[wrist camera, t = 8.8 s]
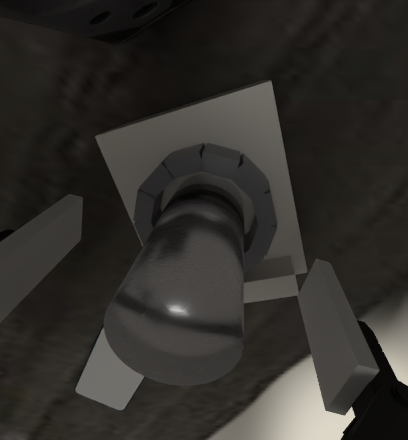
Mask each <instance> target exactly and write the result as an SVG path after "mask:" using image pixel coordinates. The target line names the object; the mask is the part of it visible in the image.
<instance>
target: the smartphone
mask: <svg viewBox="0 0 408 440" xmlns="http://www.w3.org/2000/svg"><path fill="white" fill-rule="evenodd" d="M96 339H97V340H96V341H95V343H94V345H93V347H92V349H91V352H90V355H89V358H88V360H87V362H86V364H85V367H84V369H83V371H82V373H81V375H80V378H79V380H78V382H77V384H76V387H75V392H76V393H77V394H79V395H81V396H84V397H86V398H89V399H91V400H94V401H96V402H98V403H101V404H103V405H106V406H108V407H111V408H113V409H116V410H119V411H122V410H124V409H125V408H126V407H127V405H128V403H129V402H130V400H131V399H132V397H133V396H134V394H135V392H136V391H137V389H138V388H139V386H140V384H141V383H142V381H143V380H144V378H145V376H143V375H141V374H139V373H137V372H135V371H134V370H132V369H131V368H129V367H128V366H127V365H126V364H124V363H123V362H122V361H121V360H120V359H119V358H118V357H117V356H116V354H115V353H114V352H113V350H112V349H111V347H110V346H109V344H108V341H107V339H106V336H105V333H104V325H103V327H102V328H101V331H100V333H99V335H98V336H97V338H96Z"/></svg>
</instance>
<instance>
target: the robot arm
mask: <svg viewBox="0 0 408 440" xmlns="http://www.w3.org/2000/svg"><path fill="white" fill-rule="evenodd" d="M82 208H83V197H80V196H76V195H72V194H68V195H67V196H66V197H64V198H63V199H61V200H60V201H58V202H57V203H55V204H54V205H53V206H51V207H50V208H48V209H47V210H45V211H44V212H43V213H41V214H40V215H38V216H37V217H35V218H34V219H32V220H31V221H30V222H28V223H27V224H25V225H24V226H22V227H21V228H20V229H18V230H17V231H13V230H9V229H8V230H5V231H2V232H0V322H1V321H2V320H3V319H4V318H5V317H6V316H7V315H8V314H9V313H10V312H11V311H12V310H13V309H14V308H15V307H16V306H17V305H18V304H19V303H20V302H21V301H22V300H23V299H24V298H25V297H26V296H27V295H28V294H29V292H30V291H31V290H32V289H33V288H34V287H35V286H36V285H37V284H38V283H39V282H40V281H41V280H42V279H43V278H44V277H45V276H46V275H47V274H48V273H49V272H50V271H51V270H52V269H53V268H54V267H55V266H56V265H57V264H58V263H59V262H60V261H61V260H62V259H63V258H64V256H65V255H66V254H67V253H68V252H69V251H70V250H71V249H72V248H73V247H74V246H75V245H76V244H77V243H78V242H79V241H80V240H81V228H82ZM297 297H298V301H299V305H300V309H301V313H302V317H303V321H304V325H305V329H306V333H307V337H308V341H309V345H310V349H311V353H312V358H313V362H314V366H315V370H316V374H317V378H318V382H319V386H320V390H321V394H322V398H323V402H324V406H325V410H326V411H330V412H333V413H337V414H341V415H345V414H346V413H347V412H348V410H349V409H350V408H351V407H352V408H353V411H354V414H355V418H354V419H353V421H352V422H351V423H350V424H349V425H348V427H347V428H346V429H345V431H344V432H343V434H344V435H343V437H342V438H341V440H408V386H407V385H405V384H403V383H402V382H400V381H398V380H397V378H396V376H395V374H394V372H393V370H392V368H391V366H390V364H389V362H388V360H387V358H386V356H385V354H384V352H382V348H381V346H380V344H378V340H377V338H376V336H375V334H374V332H373V331H372V330H371V329H370V328H369V327H368V326H367V325H366V323H365V322H362V321H358V320H356V318H355V316H354V314H353V312H352V309H351V307H350V305H349V303H348V301H347V299H346V296H345V294H344V292H343V290H342V288H341V286H340V283H339V281H338V279H337V277H336V275H335V273H334V270H333V268H332V266H331V264H330V262H327V261H323V260H319V259H316V260H315V262H314V264H313V266H312V268H311V270H310V272H309V274H308V276H307V278H306V280H305V282H304V284H303V286H302V288H301V290H300V292H299V294H298V296H297Z"/></svg>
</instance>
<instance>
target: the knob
mask: <svg viewBox="0 0 408 440" xmlns="http://www.w3.org/2000/svg"><path fill="white" fill-rule="evenodd" d="M244 242H245V232H244V205H243V200H242V197H241V194H240V192H239V191H238V189H237V188H236V187H235V186H234V184H232V183H231V182H230V181H229V180H227V179H226V178H224V177H220V176H216V175H213V174H208V173H205V174H197V175H194V176H192V177H189V178H188V179H186V180H185V181H183V182H182V183H181V184H180V185H179V187H178V188H177V190H176V191H175V193H174V195H173V196H172V197H171V199H170V200H169V202H168V203H167V205H166V207H165V208H164V210H163V212H162V213H161V215H160V217H159V219H158V221H157V223H156V225H155V227H154V229H153V231H152V232H151V234H150V236H149V237H148V239H147V241H146V242H145V244H144V246H143V248H142V249H141V251H140V253H139V254H138V256H137V258H136V260H135V261H134V263H133V265H132V266H131V268H130V270H129V272H128V273H127V275H126V277H125V278H124V280H123V282H122V283H121V285H120V287H119V289H118V290H117V292H116V294H115V295H114V297H113V299H112V301H111V302H110V304H109V306H108V308H107V310H106V312H105V316H104V333H105V336H106V339H107V341H108V344H109V346H110V347H111V349H112V350H113V352H114V353H115V354H116V356H117V357H118V358H119V359H120V360H121V361H122V362H123V363H124V364H126V365H127V366H128V367H129V368H131V369H132V370H134V371H135V372H137V373H139V374H141V375H143V376H145V377H147V378H149V379H152V380H155V381H158V382H162V383H166V384H171V385H182V386H189V385H200V384H204V383H209V382H211V381H214V380H217V379H219V378H221V377H223V376H224V375H226V374H227V373H228V372H230V371H231V370H232V369H233V368H234V367H235V365H236V364H237V363H238V361H239V359H240V357H241V355H242V352H243V346H244Z"/></svg>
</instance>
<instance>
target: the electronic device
mask: <svg viewBox="0 0 408 440" xmlns="http://www.w3.org/2000/svg"><path fill="white" fill-rule="evenodd" d="M187 1H189V0H0V17H4V18H8V19H12V20H16V21H21V22H25V23H29V24H33V25H37V26H42V27H46V28H50V29H54V30H58V31H63V32H67V33H71V34H75V35H79V36H84V37H88V38H92V39H96V40H101V41H105V42H109V43H115V44H118V43H122V42H124V41H126V40H128V39H130V38H131V37H133V36H134V35H136V34H138V33H139V32H141V31H142V30H144V29H145V28H147V27H148V26H150V25H151V24H153V23H155V22H156V21H158V20H159V19H161V18H162V17H164V16H165V15H167V14H169V13H170V12H172V11H173V10H175V9H176V8H178V7H179V6H181V5H182V4H184V3H186V2H187Z"/></svg>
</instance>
